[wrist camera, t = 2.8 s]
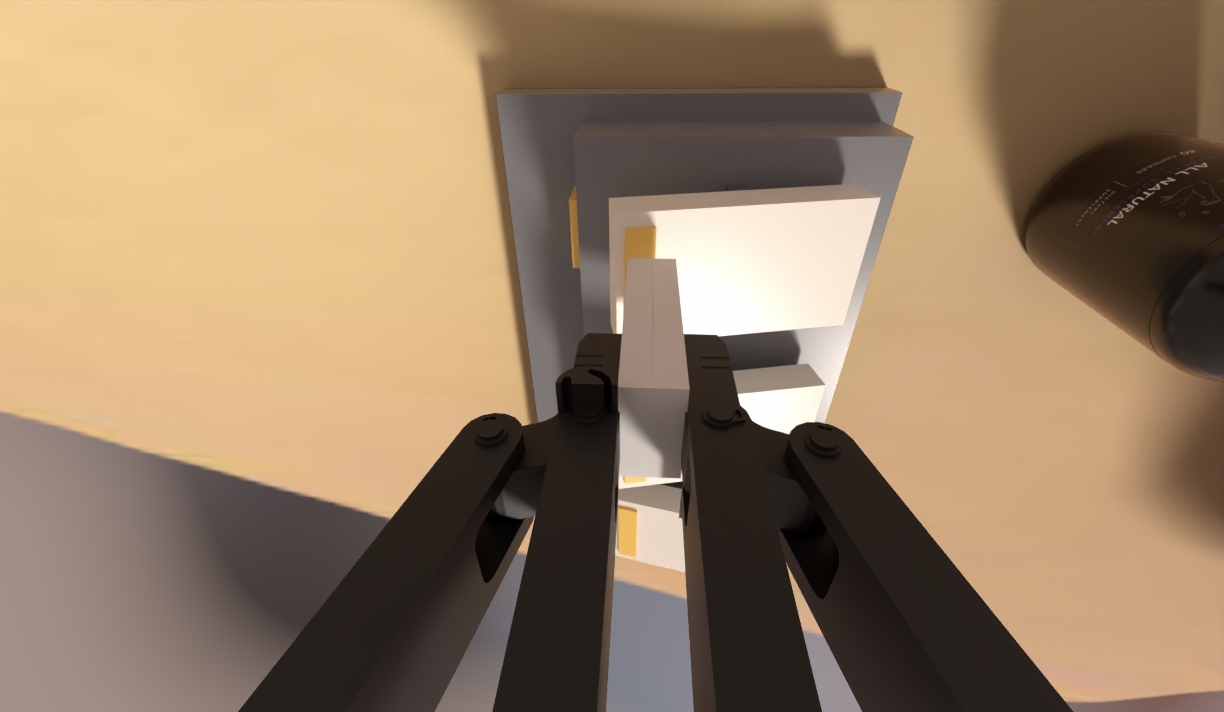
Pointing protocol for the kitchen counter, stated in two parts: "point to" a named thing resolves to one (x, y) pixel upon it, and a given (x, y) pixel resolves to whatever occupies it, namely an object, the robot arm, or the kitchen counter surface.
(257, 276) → the kitchen counter surface
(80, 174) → the kitchen counter surface
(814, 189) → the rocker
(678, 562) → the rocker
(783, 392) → the rocker
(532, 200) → the switch unit
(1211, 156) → the supplement bottle
